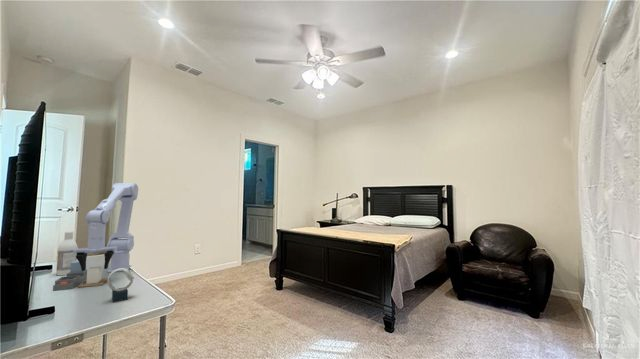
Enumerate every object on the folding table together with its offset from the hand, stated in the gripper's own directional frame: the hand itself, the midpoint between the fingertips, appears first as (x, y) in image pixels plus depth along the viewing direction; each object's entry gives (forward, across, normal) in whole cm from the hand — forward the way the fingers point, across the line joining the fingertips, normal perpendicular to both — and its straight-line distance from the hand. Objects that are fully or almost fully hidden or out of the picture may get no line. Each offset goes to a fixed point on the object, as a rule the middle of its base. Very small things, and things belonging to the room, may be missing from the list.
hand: (94, 269), depth 115 cm
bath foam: (+6, -16, +21) cm, 27 cm away
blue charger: (+4, -8, +9) cm, 13 cm away
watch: (+6, +14, -24) cm, 29 cm away
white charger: (+5, 0, 0) cm, 5 cm away
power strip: (+6, -9, +7) cm, 12 cm away
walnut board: (+6, 0, 0) cm, 6 cm away
